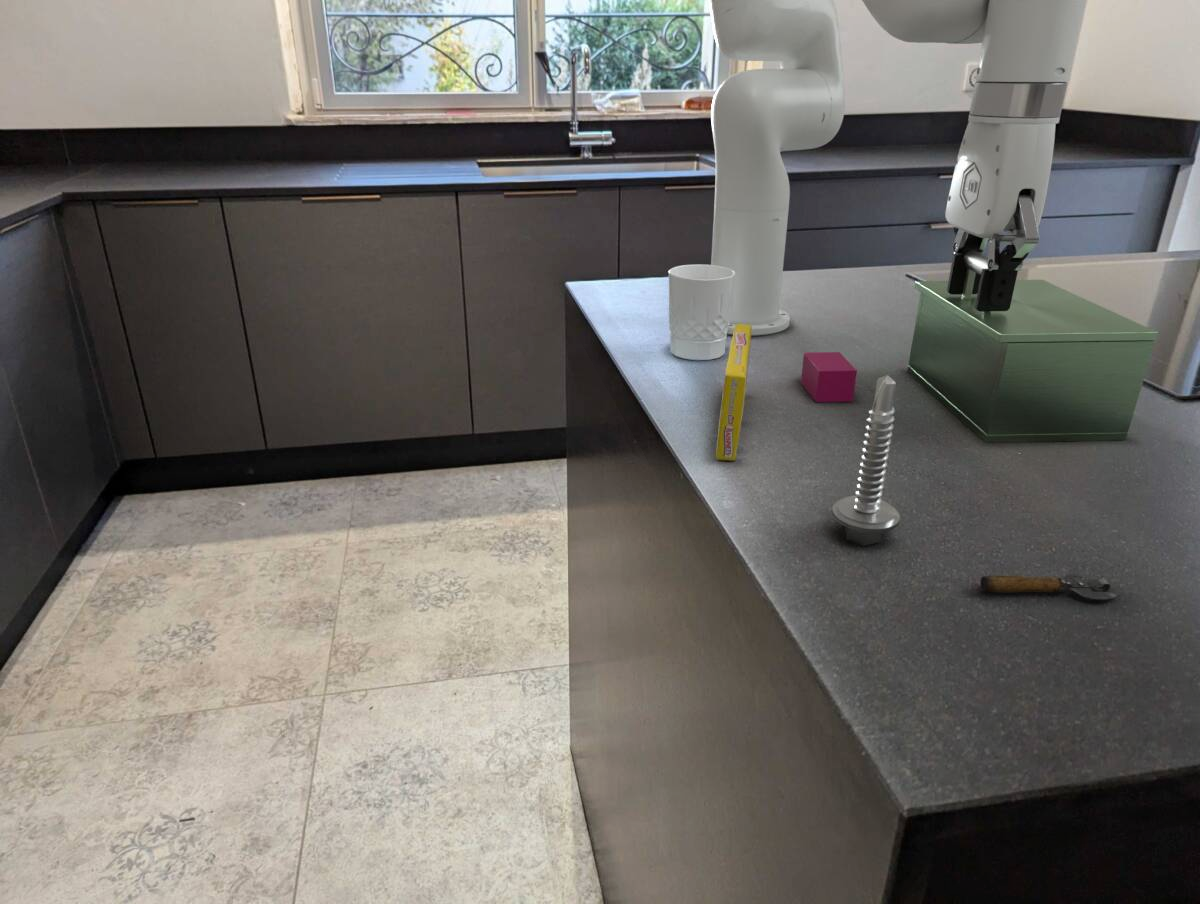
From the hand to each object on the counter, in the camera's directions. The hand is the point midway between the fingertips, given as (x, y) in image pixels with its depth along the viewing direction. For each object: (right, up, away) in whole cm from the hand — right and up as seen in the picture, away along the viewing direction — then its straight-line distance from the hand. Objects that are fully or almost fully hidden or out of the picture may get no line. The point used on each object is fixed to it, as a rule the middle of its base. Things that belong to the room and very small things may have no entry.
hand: (976, 300), depth 82 cm
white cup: (-25, -3, +20) cm, 33 cm away
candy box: (-25, -13, -1) cm, 28 cm away
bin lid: (+5, -1, +1) cm, 5 cm away
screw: (-18, -22, -19) cm, 34 cm away
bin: (+5, -10, +5) cm, 12 cm away
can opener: (-7, -25, -26) cm, 37 cm away
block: (-13, -9, +8) cm, 17 cm away
